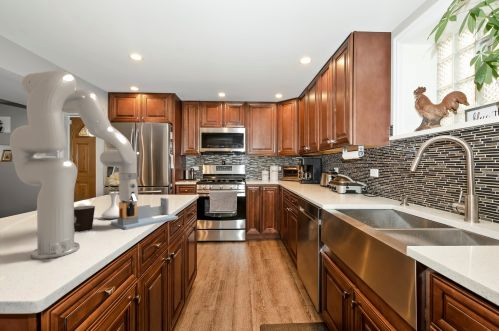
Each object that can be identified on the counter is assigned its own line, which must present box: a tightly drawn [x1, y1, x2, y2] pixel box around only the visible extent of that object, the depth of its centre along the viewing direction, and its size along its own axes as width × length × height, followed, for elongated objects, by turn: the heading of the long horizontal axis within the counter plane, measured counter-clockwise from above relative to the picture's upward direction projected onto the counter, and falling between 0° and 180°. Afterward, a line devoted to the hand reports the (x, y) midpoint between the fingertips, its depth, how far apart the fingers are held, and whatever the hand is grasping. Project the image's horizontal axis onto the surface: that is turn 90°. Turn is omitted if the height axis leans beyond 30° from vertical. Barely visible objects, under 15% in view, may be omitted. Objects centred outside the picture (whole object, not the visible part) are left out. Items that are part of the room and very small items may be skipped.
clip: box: [118, 201, 138, 219], centre depth 112 cm, size 5×6×7 cm
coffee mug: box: [74, 205, 96, 233], centre depth 106 cm, size 12×9×10 cm
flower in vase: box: [101, 171, 120, 220], centre depth 128 cm, size 13×11×25 cm
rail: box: [110, 197, 179, 231], centre depth 121 cm, size 16×27×10 cm, turn 141°
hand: (127, 214), depth 112 cm, fingers closed on clip, 5 cm apart
